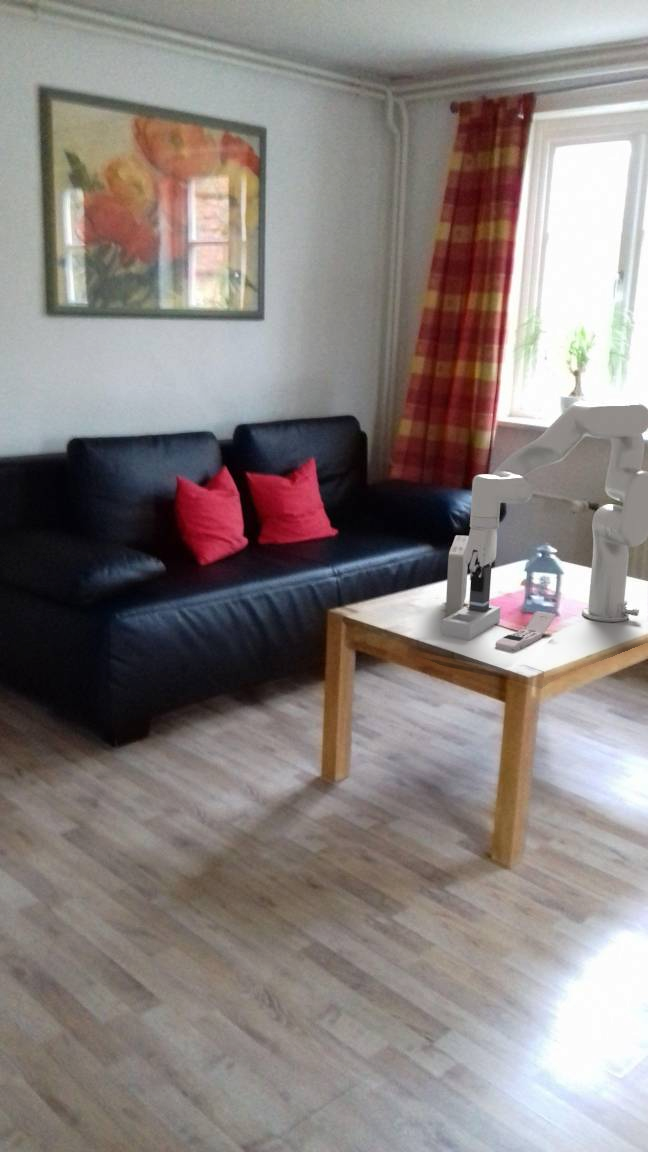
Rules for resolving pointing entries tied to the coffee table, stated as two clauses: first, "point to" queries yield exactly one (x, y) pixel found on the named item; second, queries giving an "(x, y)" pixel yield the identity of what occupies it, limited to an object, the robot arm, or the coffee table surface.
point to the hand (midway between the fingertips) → (480, 588)
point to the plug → (481, 599)
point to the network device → (456, 576)
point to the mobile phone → (527, 632)
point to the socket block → (469, 622)
